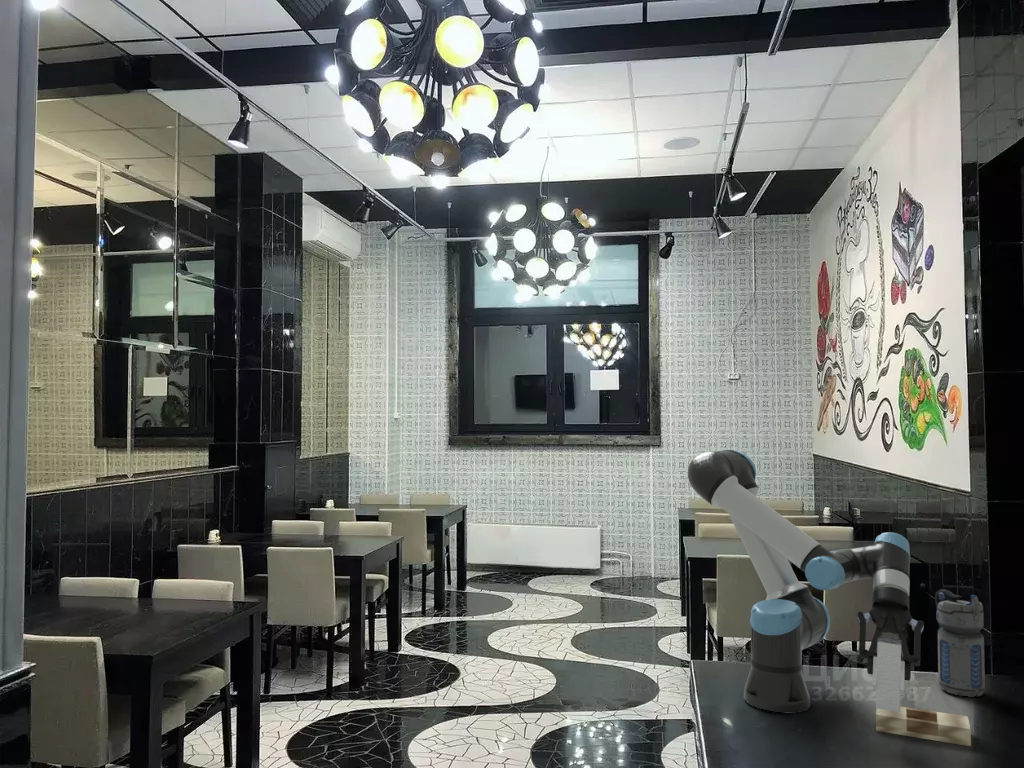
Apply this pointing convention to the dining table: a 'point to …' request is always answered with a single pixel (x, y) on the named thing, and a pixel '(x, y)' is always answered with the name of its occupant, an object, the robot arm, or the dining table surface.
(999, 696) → the dining table surface
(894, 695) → the white square post
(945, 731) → the foot beam
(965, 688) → the beverage bottle
